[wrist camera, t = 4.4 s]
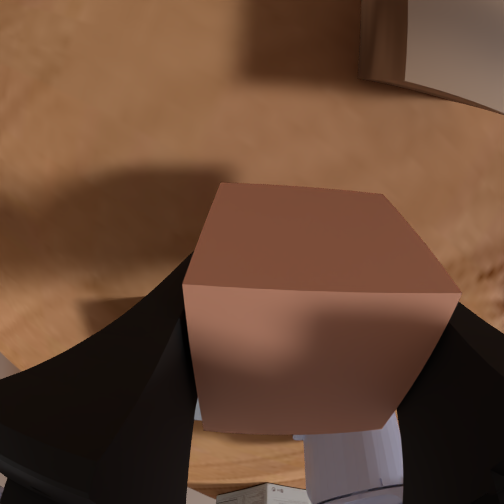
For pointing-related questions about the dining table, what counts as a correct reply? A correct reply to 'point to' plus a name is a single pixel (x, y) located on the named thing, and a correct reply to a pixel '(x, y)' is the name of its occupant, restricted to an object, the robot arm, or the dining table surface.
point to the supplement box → (265, 495)
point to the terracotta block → (309, 310)
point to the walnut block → (436, 48)
